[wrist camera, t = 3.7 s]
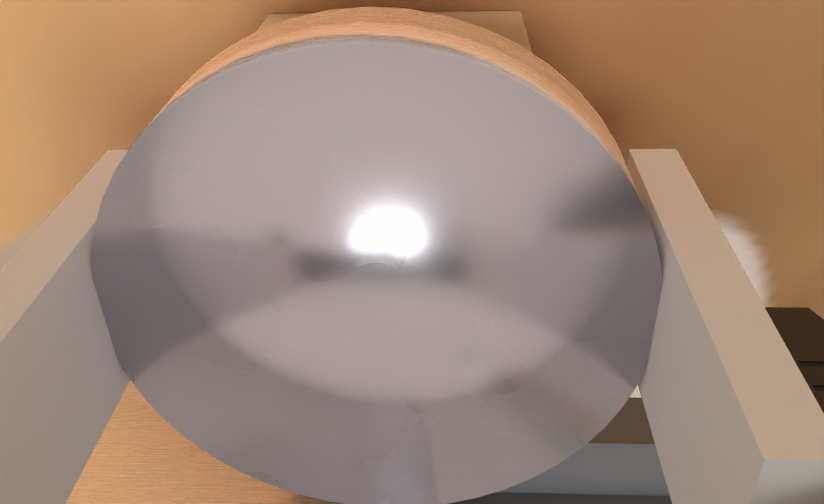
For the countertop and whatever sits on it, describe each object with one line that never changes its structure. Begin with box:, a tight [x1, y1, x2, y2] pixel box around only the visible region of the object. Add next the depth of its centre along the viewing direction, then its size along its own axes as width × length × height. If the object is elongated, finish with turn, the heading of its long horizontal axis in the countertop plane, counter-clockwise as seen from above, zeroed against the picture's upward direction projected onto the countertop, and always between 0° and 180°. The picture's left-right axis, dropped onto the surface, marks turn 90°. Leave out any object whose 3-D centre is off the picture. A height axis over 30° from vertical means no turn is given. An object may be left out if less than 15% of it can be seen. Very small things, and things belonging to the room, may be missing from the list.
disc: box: [91, 6, 662, 504], centre depth 12 cm, size 8×8×2 cm
